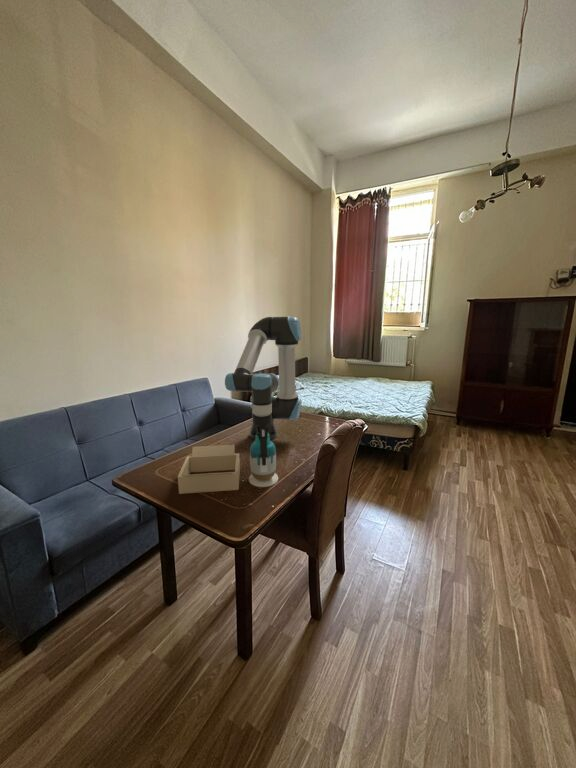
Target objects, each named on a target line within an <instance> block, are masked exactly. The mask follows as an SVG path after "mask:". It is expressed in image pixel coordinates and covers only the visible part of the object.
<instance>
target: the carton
mask: <svg viewBox="0 0 576 768" xmlns="http://www.w3.org/2000/svg"><path fill="white" fill-rule="evenodd" d="M235 450H236V449H235V444H222V445H221V444H220V445H217V444H216V445H202V446H201V445H199V446H196V445H195V446H192V451H191V455H188V456H186V458H185V459H184V462H183V464H182V467H180V471H179V473H178V474H177V485H178V494H179V495H182V494H195V493H196V494H197V493H211V492H222V491H223V492H224V491H225V492H226V491H239V489H240V473H241V472H240V471H241V462H240V459H241V458H240V453H235ZM220 471H222V472H220ZM223 471H225V472H223ZM226 471H227V472H226ZM204 472H207V473H204ZM191 473H193V474H191Z"/></svg>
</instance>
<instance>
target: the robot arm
mask: <svg viewBox="0 0 576 768" xmlns="http://www.w3.org/2000/svg"><path fill="white" fill-rule="evenodd" d="M300 322H301V321H300V320H299V319H298V318H297V317H295V316H266V317H263V318H262V319H261V318H260V319H259V320H258V321H257V322H255V324H253V326H251V328H250V329H249V332H248V335H247V337H248V338H247V342H246V344H245V346H244V349H243V350H242V353H241V355H240V358H239V360H238V363H237V364H236V365H237V366H236V367H235V370H234V372H231V373H227V374H226V375H225V378H224V386H225V389H226V390H227V391H229V392H236V393H237V392H242V393H243V392H244V393H246V392H247V393H251V406H250V408H251V413H252V414H251V418H252V423H251V427H250V431H249V438H250V439H252V440H254V441H255V440H256V433H258V436H259V440H260V454H261V455H259V457H260V472H268V466H267V457H268V455H267V433H269V437H270V441H272V440H274V439H275V438H277V436H278V431H277V428H276V425H275V420H285V421H286V420H287V421H296V420H298V419H299V417H300V413H301V408H302V399H301V398H300V397H299V393H297V392H296V347H297V346H298V344H299V342H300V341H301V340H302V326H301V323H300ZM267 341H274V343H275V346H277V348H278V350H277V351H278V375H277V374H276V373H274V372H273V373H272V372H269V373H262V372H261V373H256V374H255V373H253V372H254V370H255V367H256V364H257V362H258V360H259V357H260V354H261V351H262V349H263V346H264V345H265V344H267ZM277 389H278V393H277V394H276V396H275V397H274V394H273V393H274V392H276V390H277Z"/></svg>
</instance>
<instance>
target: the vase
mask: <svg viewBox="0 0 576 768" xmlns="http://www.w3.org/2000/svg"><path fill="white" fill-rule="evenodd" d="M249 449H250V450H249V466H250V473H251V474H252V475H253V477H254V478H255V479H257V480H261V481H265V480H269V479H271V478H272V477H273V476H274V474H275V473H276V470H277V451H276V450H277V449H276V445H275V443H274V442H273V441H272V440H270V437H269V433H267V455H268V457H267V466H268V472H260V457H259V455H261V454H260V440H259V436H258V433H256V440H254V441H253V442H252V443H251V444H250V448H249Z"/></svg>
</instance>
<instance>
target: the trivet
mask: <svg viewBox="0 0 576 768" xmlns="http://www.w3.org/2000/svg"><path fill="white" fill-rule="evenodd" d="M278 481H279V476H278V474H277V473H276V472H275V474H274V476H273V477H272V478H271V479H269V480H265V481H261V480H257V479H255V478H254V477H253V475H252V473H251V474H250V475H249V477H248V483H250V485H251V486H253V487H257V488H268V487H272V486H274V485H275V484H277V482H278Z"/></svg>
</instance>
